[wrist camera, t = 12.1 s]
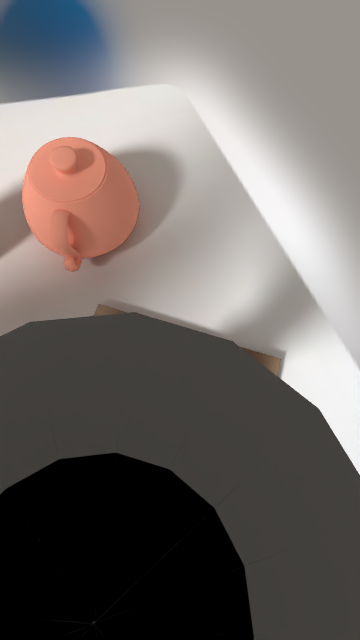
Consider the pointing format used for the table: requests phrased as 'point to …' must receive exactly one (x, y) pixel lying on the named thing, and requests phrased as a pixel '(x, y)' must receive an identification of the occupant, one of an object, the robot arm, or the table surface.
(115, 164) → the sugar bowl
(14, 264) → the table surface
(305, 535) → the candle holder
